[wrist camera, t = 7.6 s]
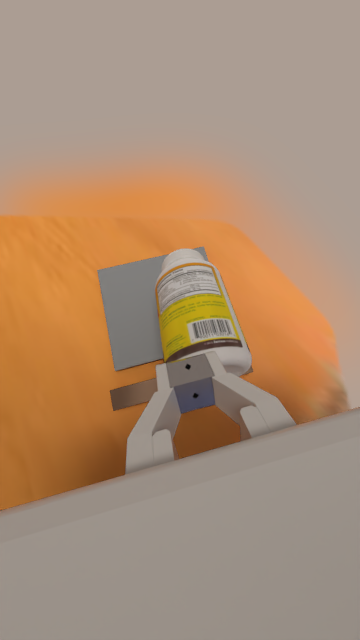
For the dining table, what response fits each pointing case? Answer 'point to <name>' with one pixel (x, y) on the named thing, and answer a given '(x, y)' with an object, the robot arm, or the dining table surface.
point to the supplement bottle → (198, 313)
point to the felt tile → (133, 310)
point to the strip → (137, 393)
